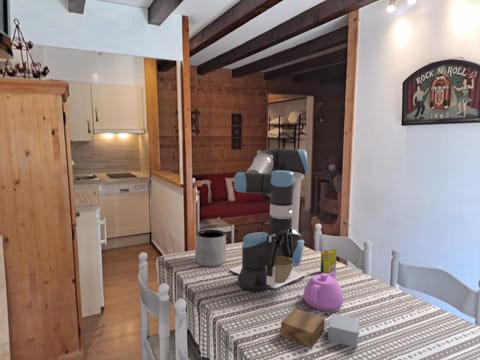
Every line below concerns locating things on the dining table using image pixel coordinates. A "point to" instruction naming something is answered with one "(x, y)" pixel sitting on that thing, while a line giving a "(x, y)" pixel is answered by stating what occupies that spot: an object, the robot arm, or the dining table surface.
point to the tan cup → (282, 268)
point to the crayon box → (328, 261)
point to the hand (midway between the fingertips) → (278, 279)
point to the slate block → (344, 330)
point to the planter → (210, 248)
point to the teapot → (323, 292)
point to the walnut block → (302, 327)
